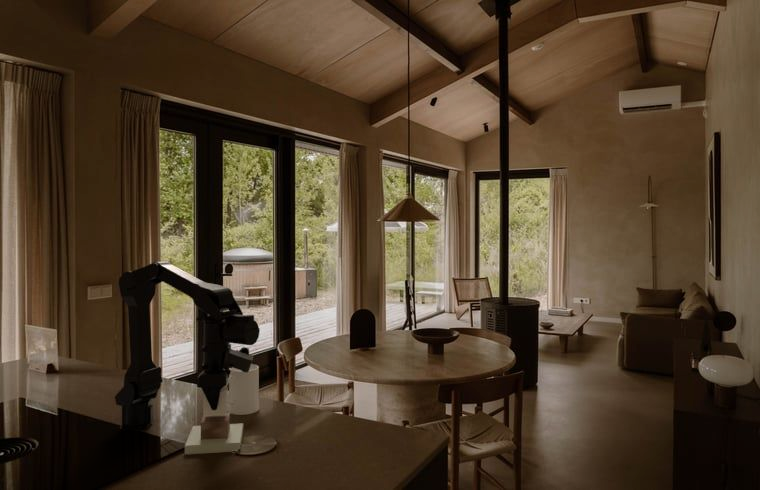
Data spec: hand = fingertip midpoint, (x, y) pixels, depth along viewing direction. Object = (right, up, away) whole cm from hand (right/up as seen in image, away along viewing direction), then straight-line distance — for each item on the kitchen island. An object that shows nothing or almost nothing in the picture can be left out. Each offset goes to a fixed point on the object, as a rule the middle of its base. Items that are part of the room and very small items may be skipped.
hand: (215, 406), depth 125 cm
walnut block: (0, -7, 0) cm, 7 cm away
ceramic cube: (0, -1, 0) cm, 1 cm away
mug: (0, -8, +22) cm, 23 cm away
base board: (0, -9, 0) cm, 9 cm away
